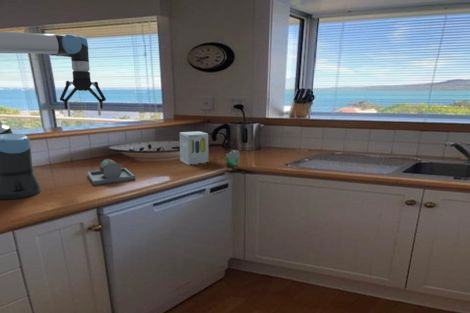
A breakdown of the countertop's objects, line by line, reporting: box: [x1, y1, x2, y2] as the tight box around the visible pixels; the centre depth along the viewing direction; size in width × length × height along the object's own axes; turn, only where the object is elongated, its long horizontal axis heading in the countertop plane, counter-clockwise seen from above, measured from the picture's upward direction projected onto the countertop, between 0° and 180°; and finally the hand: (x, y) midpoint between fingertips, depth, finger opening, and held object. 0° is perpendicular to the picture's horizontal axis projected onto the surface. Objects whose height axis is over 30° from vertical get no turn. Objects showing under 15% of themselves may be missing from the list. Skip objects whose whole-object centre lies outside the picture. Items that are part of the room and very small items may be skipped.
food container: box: [225, 149, 241, 172], centre depth 167 cm, size 12×6×10 cm, turn 168°
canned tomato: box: [99, 158, 122, 179], centre depth 147 cm, size 8×8×11 cm
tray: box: [86, 167, 136, 186], centre depth 148 cm, size 18×18×2 cm
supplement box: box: [179, 130, 209, 165], centre depth 184 cm, size 13×13×18 cm
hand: (84, 115), depth 152 cm, fingers open, 13 cm apart
